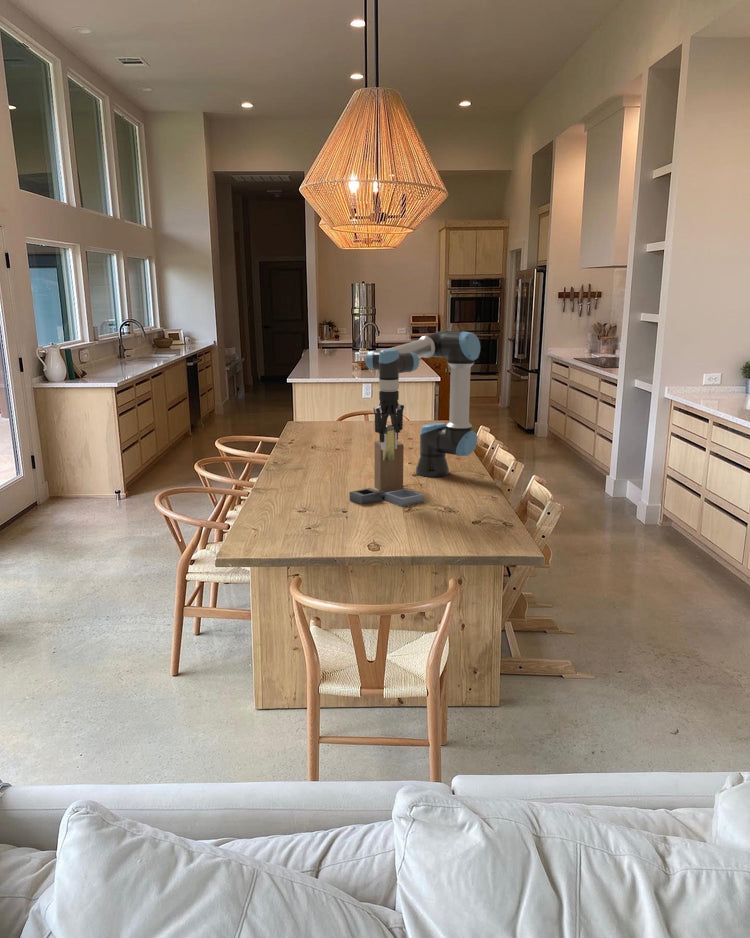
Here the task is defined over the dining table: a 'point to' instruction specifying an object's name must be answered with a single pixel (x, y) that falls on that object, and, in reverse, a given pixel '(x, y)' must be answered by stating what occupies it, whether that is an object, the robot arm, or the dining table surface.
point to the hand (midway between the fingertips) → (388, 449)
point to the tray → (403, 497)
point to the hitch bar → (367, 496)
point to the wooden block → (389, 469)
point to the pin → (389, 443)
